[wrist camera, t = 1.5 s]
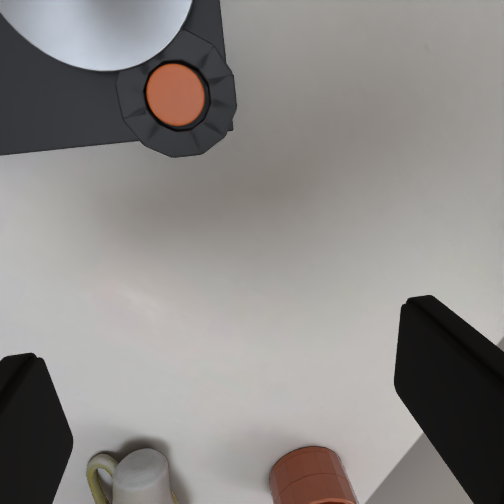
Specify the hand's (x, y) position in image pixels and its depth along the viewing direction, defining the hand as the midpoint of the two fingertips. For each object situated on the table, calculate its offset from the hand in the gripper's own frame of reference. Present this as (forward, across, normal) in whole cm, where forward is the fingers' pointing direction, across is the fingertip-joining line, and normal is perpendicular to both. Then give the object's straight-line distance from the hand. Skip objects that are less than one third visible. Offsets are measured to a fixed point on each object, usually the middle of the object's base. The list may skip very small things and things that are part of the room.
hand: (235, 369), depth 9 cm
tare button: (+11, +1, -7) cm, 13 cm away
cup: (+14, -5, +25) cm, 29 cm away
